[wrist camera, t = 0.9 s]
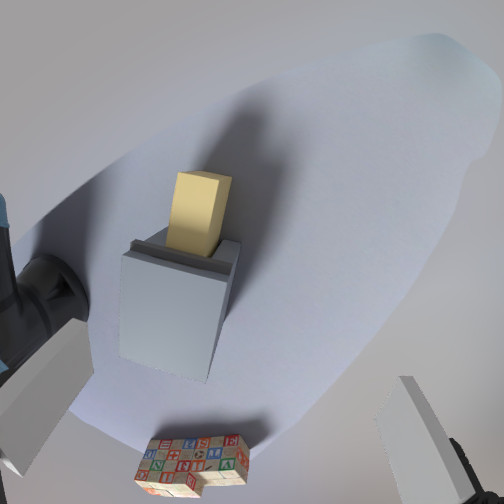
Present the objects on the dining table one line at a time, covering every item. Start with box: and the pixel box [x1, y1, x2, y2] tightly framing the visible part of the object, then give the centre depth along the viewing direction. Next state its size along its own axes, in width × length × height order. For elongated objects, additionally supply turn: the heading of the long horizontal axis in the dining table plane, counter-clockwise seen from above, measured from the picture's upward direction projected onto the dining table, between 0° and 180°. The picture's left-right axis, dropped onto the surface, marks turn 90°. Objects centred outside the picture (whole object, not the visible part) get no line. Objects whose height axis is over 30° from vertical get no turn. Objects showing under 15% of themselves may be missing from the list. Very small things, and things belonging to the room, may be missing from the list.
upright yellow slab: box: [164, 171, 232, 270], centre depth 33 cm, size 4×14×10 cm, turn 167°
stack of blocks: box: [134, 434, 250, 498], centre depth 45 cm, size 21×6×12 cm, turn 109°
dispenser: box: [119, 227, 242, 383], centre depth 33 cm, size 10×13×14 cm
